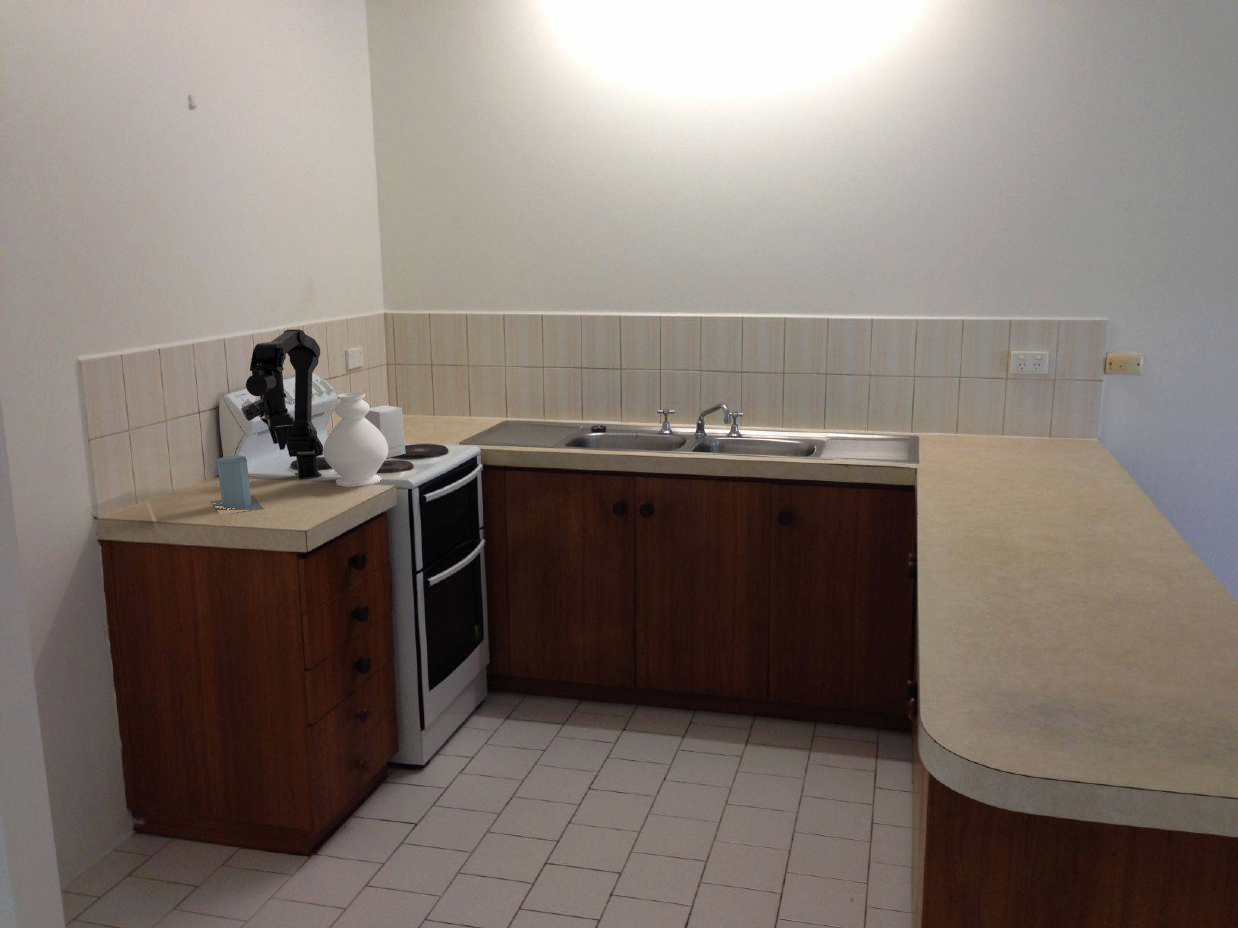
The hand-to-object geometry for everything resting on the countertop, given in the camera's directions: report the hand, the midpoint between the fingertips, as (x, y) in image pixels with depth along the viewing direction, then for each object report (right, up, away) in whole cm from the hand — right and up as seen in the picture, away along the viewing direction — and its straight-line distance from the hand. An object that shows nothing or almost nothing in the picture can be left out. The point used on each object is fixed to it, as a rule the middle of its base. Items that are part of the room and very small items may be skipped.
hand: (278, 446), depth 296 cm
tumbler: (-8, -15, -10) cm, 20 cm away
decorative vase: (+19, -10, +13) cm, 25 cm away
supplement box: (+20, -2, +45) cm, 49 cm away
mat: (-8, -16, -10) cm, 20 cm away
